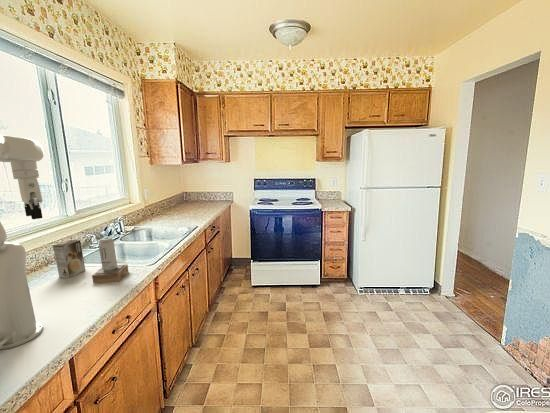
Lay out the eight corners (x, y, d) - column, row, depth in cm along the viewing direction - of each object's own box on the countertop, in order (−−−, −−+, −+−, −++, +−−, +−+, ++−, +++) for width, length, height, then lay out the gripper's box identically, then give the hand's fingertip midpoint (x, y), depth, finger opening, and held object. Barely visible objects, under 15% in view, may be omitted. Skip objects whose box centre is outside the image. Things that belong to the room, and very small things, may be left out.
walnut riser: (118, 282, 127) (117, 273, 126) (93, 283, 126) (91, 274, 125) (128, 271, 138) (127, 263, 137) (105, 273, 136) (103, 265, 136)
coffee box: (75, 269, 142) (70, 239, 139) (85, 270, 141) (80, 240, 138) (58, 277, 133) (52, 245, 130) (69, 278, 132) (63, 246, 129)
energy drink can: (99, 271, 128) (94, 240, 125) (109, 266, 134) (105, 236, 131) (110, 272, 127) (106, 240, 124) (120, 266, 133) (116, 236, 130)
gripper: (43, 174, 106) (51, 218, 109) (33, 173, 116) (40, 212, 120) (17, 176, 100) (26, 222, 103) (8, 174, 111) (17, 216, 114)
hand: (34, 217), depth 111 cm, fingers open, 9 cm apart
